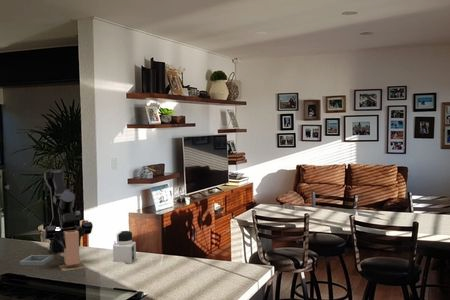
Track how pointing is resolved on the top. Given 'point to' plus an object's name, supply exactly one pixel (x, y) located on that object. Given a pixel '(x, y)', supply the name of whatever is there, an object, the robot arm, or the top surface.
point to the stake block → (71, 266)
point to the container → (124, 248)
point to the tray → (34, 257)
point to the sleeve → (71, 247)
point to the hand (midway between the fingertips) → (72, 247)
